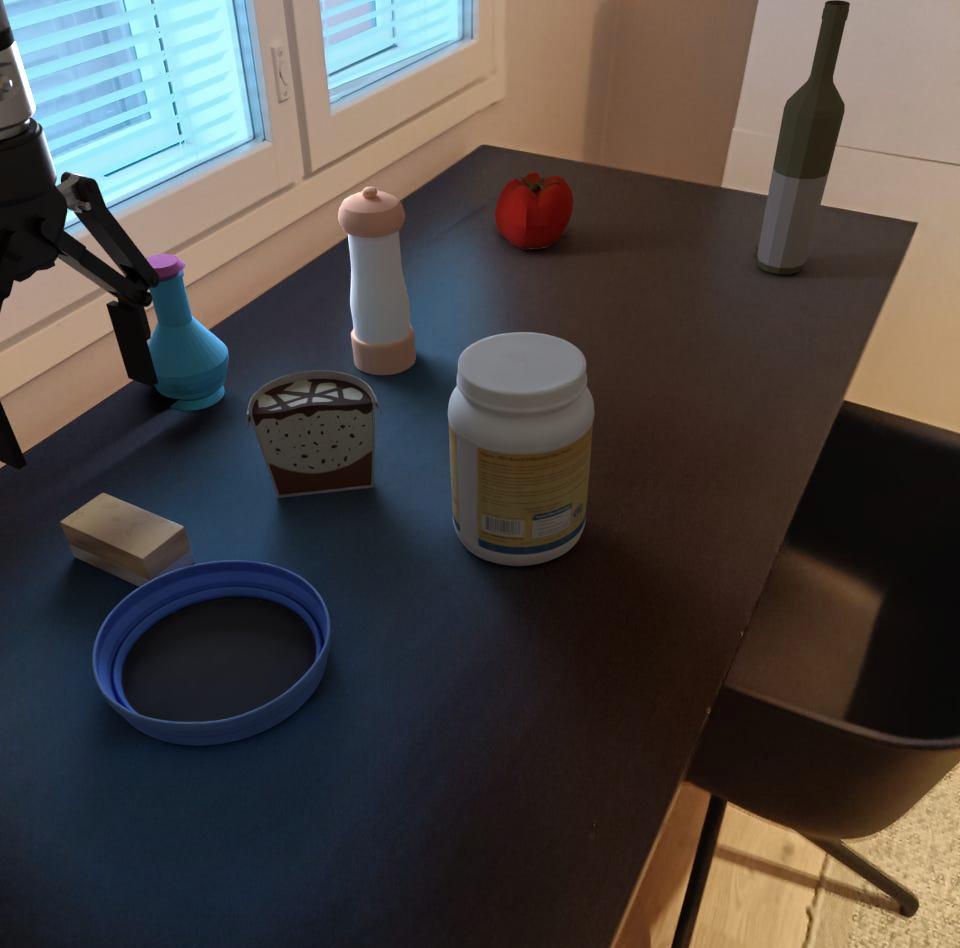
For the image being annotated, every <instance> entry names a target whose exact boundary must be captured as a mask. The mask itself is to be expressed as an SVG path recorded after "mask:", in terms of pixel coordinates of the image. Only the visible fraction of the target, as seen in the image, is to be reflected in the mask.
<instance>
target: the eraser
mask: <svg viewBox="0 0 960 948" xmlns="http://www.w3.org/2000/svg"><path fill="white" fill-rule="evenodd" d="M59 523H60V526H61V529H62V531H63V533H64V536H65V539H66V540H67V544H68V545H69V548H70V550H71V552H72V554H73V557H74V558H76V559H78V560H81V561H82V562H85V563H87V564H89V565H91V566H94V567H95V568H97V569H100V570H102V571H105V572H106V573H109V574H111V575H112V576H115V577H117V578H119V579H121V580H124V581H126V582H128V583H130V584H132V585H134V586H137V587H138V588H139V587H141V586H142V585H144V584H146V583H147V582H149V581H151V580H153V579H155V578H157V577H159V576H161V575H164V574H166V573H169V572H171V571H174V570H177V569H180V568H183V567H187V566H191V565H194V563H196V561H195V557H194V554H193V550H192V547H191V544H190V540H189V537H188V533H187V530H186V527H185V525H181V524H179V523H176V522H174V521H171V520H169V519H167V518H165V517H162V516H160V515H157V514H155V513H153V512H150V511H148V510H146V509H144V508H141V507H138V506H136V505H134V504H131V503H129V502H126V501H124V500H122V499H119V498H117V497H115V496H112V495H110V494H108V493H105V492H101V493H100V494H98V495H97V496H95V497H94V498H93V499H91V500H90V501H88V502H86V503H85V504H83V505H82V506H80V507H79V508H78V509H76V510H74V512H72V513H71V514H69V515H68V516H66V517H64V518H63V519H62V520H60V521H59Z"/></svg>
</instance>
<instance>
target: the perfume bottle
mask: <svg viewBox="0 0 960 948" xmlns="http://www.w3.org/2000/svg"><path fill="white" fill-rule="evenodd" d="M145 258H146V259H147V261H148V262H149V263H150V265H151V266H152V267H153V268H154V270H155V271H156V272H157V274H158V275H159V279H160V280H159V284H158V286H157V287H155V288H152V287H150V288H149V289H148V292H150V293H151V295H152V305H153V308H154V309H153V310H154V313H155V316H156V320H157V323H156V325H155V327H154V329H153V332H152V333H151V338H150V339H149V340H148V341H147V343H148V347H149V350H150V354H151V358H152V361H153V365H154V369H155V372H156V376H157V379H158V383H157V384H156V385H154V386H153V387H155V389H156V391H157V392H158V393H159V394H160V395H162V396H164V397H166V398H169V399H175V400H177V401H176V402H174V403H173V404H171V405H170V406H169V408H171V409H174V410H177V411H183V412H185V411H187V412H188V411H189V412H190V411H199V410H203V409H207V408H209V407H211V406H214V405H216V404H217V403H218V402H220V401H221V400H222V399H223V398H224V396H225V392H226V390H225V384H226V382H227V372H228V369H229V368H228V367H229V361H230V357H229V350H228V346H226V344H225V343H224V342H223V341H222V340H221V339H220V338H219V337H217V335H215V334H214V333H213V332H211V331H210V330H209V329H208V328H206V327H205V326H204V325H203V324H202V323H201V322H199V320H198V319H196V317H194V316H193V313H192V310H191V306H190V302H189V297H188V293H187V289H186V285H185V284H186V283H185V281H184V276H185V272H184V269H185V268H186V263H185V261H184V260H182V259H181V258H179V257H178V256H176V255H175V254H172V253H159V254H154V255H150V256H148V257H145Z"/></svg>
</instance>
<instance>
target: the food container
mask: <svg viewBox="0 0 960 948" xmlns="http://www.w3.org/2000/svg"><path fill="white" fill-rule="evenodd" d="M376 409H377V410H378V412H379V415H381V416H382V415H383V413H382V410H381V406H380V403H379V401H378V397H377V396H376V394H375V393H374V390H373V389H372V387H371V386H370V385H369V384H368V383H367V382H366V381H364V380H363V379H361V378H360V377H357V376H356V375H353V374H349V373H346V372H342V371H336V370H328V369H317V370H303V371H298V372H294V373H293V372H292V373H289V374H286V375H282V376H280V377H277V378H275V379H272V380H271V381H269V382H267V383H265V384H264V385H262V386H260V388H258V389H257V390H256V391H254V393H253V395H252V396H251V397H250V399H249V402H248V405H247V409H246V413H245V414H246V415H245V416H246V417H245V419H246V420H245V421H246V425H245V426H246V427H245V428H246V429H249V426H250V422H251V424H252V426H253V430H254V433H255V436H256V438H257V441H258V444H259V448H260V450H261V453H262V457H263V459H264V463H265V466H266V468H267V471H268V474H269V478H270V480H271V484H272V487H273V489H274V492H275V495H276V497H277V499H281V498H290V497H291V498H292V497H299V496H309V495H318V494H328V493H337V492H344V491H345V492H346V491H353V490H363V489H372V488H375V448H376V447H375V445H376V444H375V441H376V440H375V438H376V437H375V436H376Z"/></svg>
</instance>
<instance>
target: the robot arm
mask: <svg viewBox="0 0 960 948" xmlns="http://www.w3.org/2000/svg"><path fill="white" fill-rule="evenodd" d="M11 26H12V25H11V23H10V20H9V16H8V14H7V10H6V6H5V3H4V0H0V313H1V312H2V308H3V303H4V301H5V300H6V299H8V298H9V297H10V296H11V293H12V291H13V285H14V281H15V282H18V283H22V282H24V281H26V280H29V279H30V278H32V276H33V275H34V274H36V273H37V272H38V271H39V272H40V271H46V270H50V269H52V268H54V267H56V263H55V262H56V261H57V259H59V260H60V261H62V262H63V263H65V264H66V265H68V266H69V267H70V268H72V269H73V270H74V271H77V272H78V273H80V275H82V276H83V277H84V278H87V279H88V280H89V281H91V282H92V283H94V284H95V285H97V286H98V287H100V288H101V289H102V290H104V291H105V292H107V293H108V294H110V295H111V296H112V297H114V298H116V299H117V301H116V300H111V301H109V302H107V303H106V304H105V305H106V308H107V312H108V315H109V319H110V322H111V325H112V328H113V332H114V335H115V339H116V342H117V345H118V349H119V353H120V356H121V359H122V362H123V366H124V369H125V372H126V375H127V378H128V379H130V380H132V381H135V382H137V383H140V384H143V385H146V386H148V387H151V388H152V387H155V386H154V385H156V384H157V383H158V379H157V376H156V372H155V369H154V365H153V361H152V358H151V354H150V350H149V347H148V341H149V340H150V338H151V336H152V330H151V326H150V323H149V320H148V315H147V312H146V309H145V308H148V307H150V306H151V304H153V302H152V295H151V293H150V291H149V288H150V287H152V288H155V287H157V286H158V284H159V280H160V279H159V275H158V274H157V272H156V271H155V270H154V268H153V267H152V266H151V265H150V263H149V262H148V261H147V259H146V258H147V257H145V255H144V254H143V253H142V252H141V250H140V249H139V248H138V246H137V245H136V243H135V242H134V241H133V239H132V238H131V237H130V236H129V235H128V233H127V232H126V230H125V229H124V227H122V225H121V224H120V223H119V222H118V220H117V219H116V217H115V216H114V215H113V213H112V212H111V211H110V209H108V207H107V206H106V201H105V199H104V196H103V195H102V191H101V189H100V186H99V184H98V182H97V180H96V179H95V178H92V177H90V176H86V175H82V174H78V173H74V172H71V171H65V172H63V173H62V174H61V176H60V183H59V184H56V183H57V180H58V173H57V170H56V167H55V164H54V160H53V156H52V154H51V151H50V148H49V144H48V141H47V138H46V135H45V131H44V127H43V126H42V124H41V123H39V122H38V121H37V120H36V119H34V118H33V116H34V114H35V112H36V109H37V107H36V104H35V101H34V97H33V94H32V90H31V88H30V84H29V81H28V78H27V73H26V71H25V68H24V65H23V61H22V58H21V55H20V54H21V53H20V51H19V48H18V45H17V42H16V40H15V37H14V33H13V30H12V27H11ZM68 210H69V211H71V212H73V213H74V214H75V216H76V217H77V219H78V220H79V221H80V222H81V224H82V225H83V226H84V227H85V229H86V230H87V231H88V233H90V235H91V236H92V237H93V238H94V240H95V241H96V242H97V243H98V244H99V246H100V247H101V249H102V250H103V251H104V252H105V254H106V255H107V256H108V257H109V258H110V259H111V260H112V262H113V263H114V264H115V266H116V267H117V268H118V269H119V270H120V272H122V273H120V272H119V271H118V270H116V269H115V268H113V267H112V266H110V265H109V264H107V263H106V262H105V261H104V260H102V259H101V258H100V257H98V255H95V253H92V252H91V251H90V250H89V249H87V246H86V245H85V244H83V243H82V242H81V241H79V240H78V239H76V238H75V237H74V236H72V235H71V234H69V233H68V232H67V231H65V227H66V221H67V215H68ZM11 425H12V424H11V423H10V420H9V418H8V416H7V413H6V411H5V408H4V406H3V404H2V401H1V400H0V462H1V463H3V464H5V465H8V466H10V467H12V468H14V469H17V470H21V469H23V468H24V467H26V466H28V463H27V461H26V458H25V456H24V454H23V452H22V449H21V447H20V444H19V442H18V439H17V438H16V434H15V432H14V430H13V427H12V426H11Z"/></svg>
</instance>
